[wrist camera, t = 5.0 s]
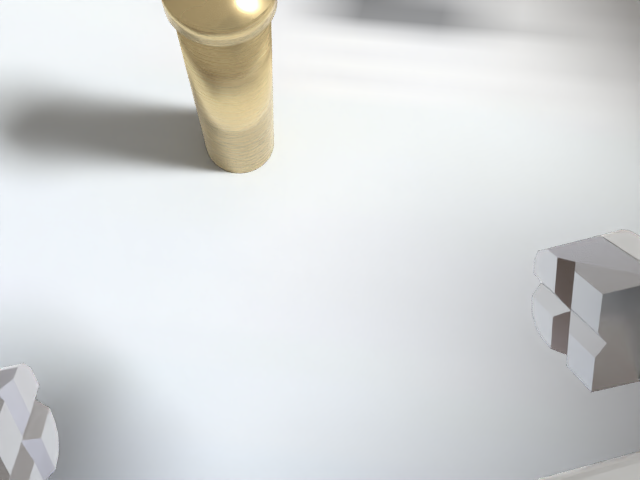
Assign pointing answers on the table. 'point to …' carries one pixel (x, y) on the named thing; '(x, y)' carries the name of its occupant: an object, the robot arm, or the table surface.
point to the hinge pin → (229, 75)
